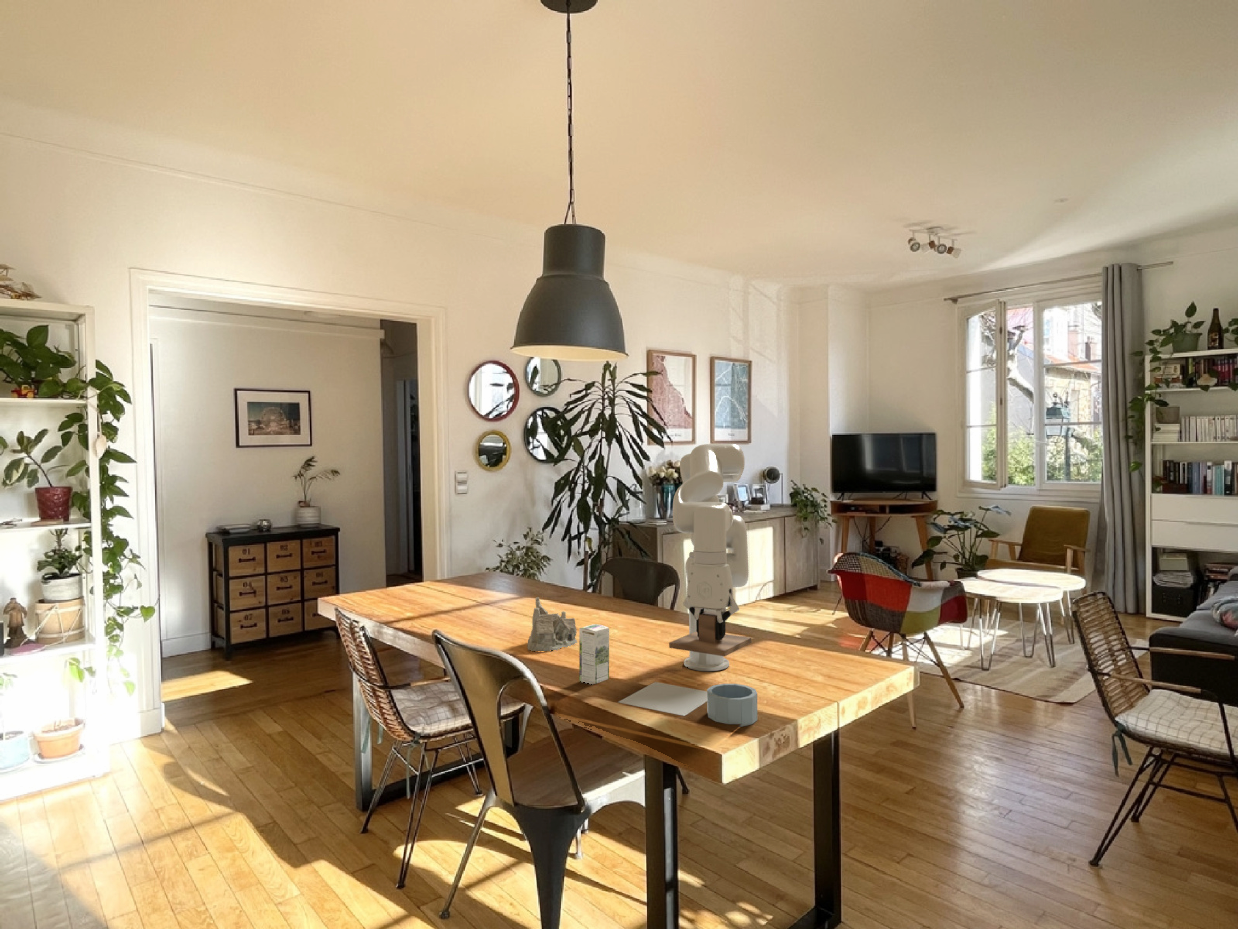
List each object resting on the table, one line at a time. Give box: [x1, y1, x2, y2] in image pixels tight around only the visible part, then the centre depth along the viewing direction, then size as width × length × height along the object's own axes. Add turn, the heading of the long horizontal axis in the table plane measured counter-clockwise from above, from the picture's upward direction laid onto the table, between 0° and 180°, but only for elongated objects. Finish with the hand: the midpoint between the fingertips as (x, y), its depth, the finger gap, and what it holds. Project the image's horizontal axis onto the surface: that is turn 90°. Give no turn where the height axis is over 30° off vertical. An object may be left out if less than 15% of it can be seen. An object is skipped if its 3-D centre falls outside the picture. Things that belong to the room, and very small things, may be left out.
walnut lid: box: [668, 612, 752, 657], centre depth 174 cm, size 14×14×7 cm
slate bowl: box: [706, 683, 758, 728], centre depth 171 cm, size 11×11×6 cm
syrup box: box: [578, 623, 610, 685], centre depth 198 cm, size 6×6×14 cm
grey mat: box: [617, 681, 707, 717], centre depth 183 cm, size 18×18×1 cm
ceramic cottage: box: [527, 597, 578, 652], centre depth 236 cm, size 16×16×15 cm
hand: (710, 636), depth 174 cm, fingers closed on walnut lid, 4 cm apart
